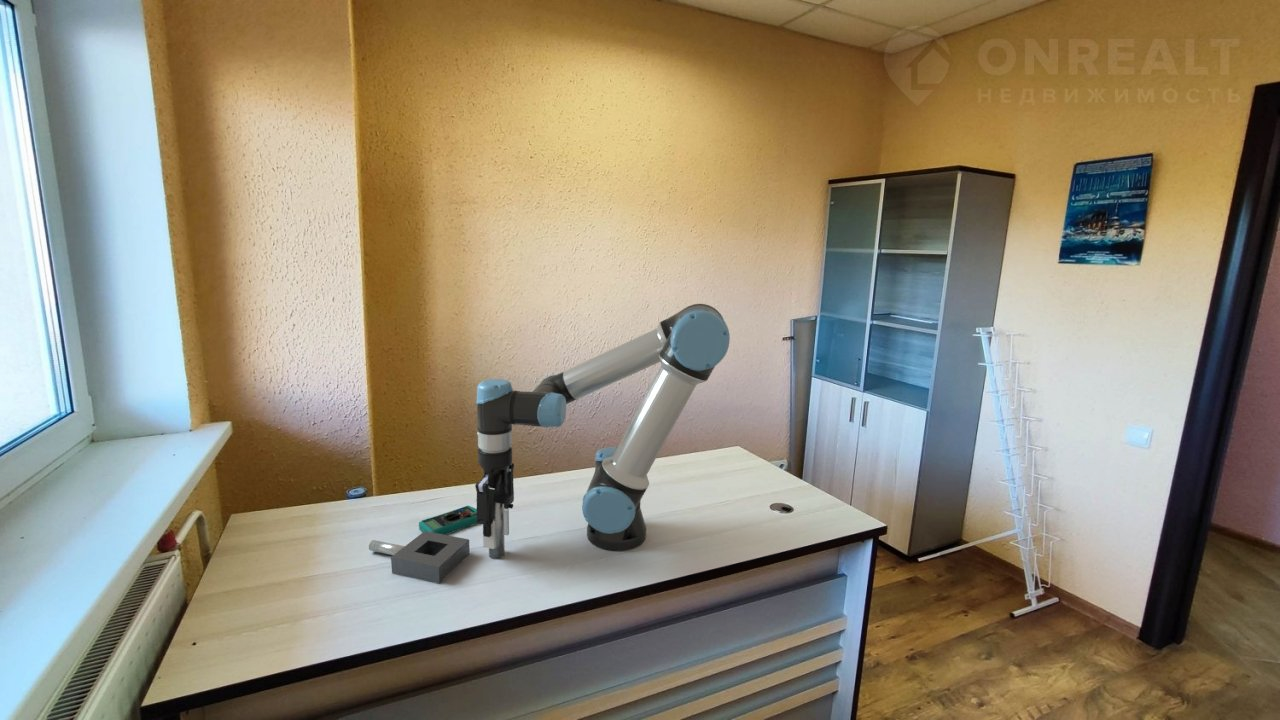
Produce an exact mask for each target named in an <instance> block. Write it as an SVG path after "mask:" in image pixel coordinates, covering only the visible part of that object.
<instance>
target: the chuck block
mask: <svg viewBox="0 0 1280 720" xmlns="http://www.w3.org/2000/svg"><path fill="white" fill-rule="evenodd" d="M368 550H369V551H372V552H376V553H379V554H385V555H390V561H391V564H390V565H391V574H393V575H398V576H403V577H408V578H411V579H416V580H420V581H425V582H430V583H435V584H441V583H442V582H443V581H444V580H445V579H446V578H447V577H448V576H449V575H451V573H452V572H453V571H455V569H457V568H458V567H459V565H461V564H462V563H463V562H464V561H465V560H466V559H467V558H468V557H469V556H470V554H471V552H470V539H468V538H464V537H458V536H453V535H449V534H446V535H443V534H438V533H433V532H428V531H424V532H423V533H422V532H421V533H420V534H419V535H418V536H416V537H415V538H413V540H411V541H410V542H409V543H407V544H406V545H399V544H395V543H392V542H391V543H390V542H385V541H381V540H375V539H372V540H371V541H370V542H369V545H368Z"/></svg>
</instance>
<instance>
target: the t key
mask: <svg viewBox="0 0 1280 720" xmlns="http://www.w3.org/2000/svg"><path fill="white" fill-rule="evenodd" d="M513 503H514V501H513V494H509V493H503V492H498V493H497V494H496V502H495V510H494V518H493V521H495V532H496V548H495V549H491V548H488V557H489V558H490V559H491V560H499V559H503V558H504V557H505V556H506V554H505V553H506V551H505V548H506V547H505V535H504V504H508V505H510V504H513Z"/></svg>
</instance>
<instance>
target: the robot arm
mask: <svg viewBox="0 0 1280 720" xmlns="http://www.w3.org/2000/svg"><path fill="white" fill-rule="evenodd" d="M729 331H730V330H729V327H728V325H727V323H726V321H725V319H724V318H723V315H722V314H721V313H720V312H719V311H718V310H717V309H716V308H715V307H713V306H711V305H708V304H706V303H694V304H690V305H688V306H686V307H684V308H683V309H682V310H679V311H678V312H676V313H675V314H673V315H671V316H670V317H668V318H666V319H664V320H662V321H659V323H658V324H657V326H656V328H654V329H652V330H650V331H648V332H645V333H644V334H642V335H639V336H636V337H635V338H633V339H631V340H629V341H626V342H624V343H622V344H620V345H618V346H616V347H614V348H612V349H609V350H607V351H605V352H603V353H601V354H599V355H596V356H594V357H591V358H590V359H588V360H586V361H583V362H581V363H578V364H577V365H575V366H572V367H570V368H568V369H566V370H564V371H562V372H560V373H557V374H552V375H549V376H547V377H545V378H543V379H542V381H541V382H540V383H539V385H537V386H536V387H535V388H534V389H533V390H532V391H523V390H522V391H520V390H513V387H512V383H511V381H509V380H508V379H501V378H491V379H490V378H489V379H485V380H483V381H481V382H479V384H477V386H476V387H477V388H476V389H477V390H476V401H475V402H476V416H477V417H476V418H477V420H476V421H477V447H478V449H477V456H478V457H477V462H478V465H479V467H481V468H482V469H483V472H482V480H481V481H480V482H476V483H475V485H474V486H475V487H474V488H475V491H476V509H477V525H482V532H483V533H482V535H483V536H482V537H483V541H482V542H483V548H487V549H489V548H491V549H495V548H496V532H495V521H493V518H494V510H495V502H496V494H497V493H498V492H503V493H509V494H513V502H514V501H515V493H514V492H515V491H514V486H515V485H514V469H515V464H514V463H513V448H512V446H513V425H514V426H515V425H516V426H517V425H518V426H530V427H542V428H546V429H547V428H558V427H559V428H560V427H561V426H562V425H563V424H564V423H565V419H566V416H567V414H566V413H567V405H568V404H570V403H572V402H574V401H577V400H579V399H581V398H583V397H585V396H587V395H588V396H589V395H590V394H592V393H594V392H596V391H598V390H602V389H603V388H605V387H607V386H610V385H612V384H614V383H616V382H618V381H621V380H623V379H625V378H627V377H630V376H632V375H634V374H636V373H638V372H639V373H640V372H641V371H643V370H646V369H647V368H650V367H651V366H654V365H657V364H659V363H660V367H659V369H658V371H657V372H656V375H655V376H654V378H653V380H652V382H651V385H649V388H648V390H647V391H646V393H645V395H644V397H643V399H642V401H641V402H640V405H639V406H638V408H637V410H636V412H635V414H634V416H633V418H632V419H631V422H630V423H629V425H628V427H627V429H626V431H625V433H624V435H623V437H622V438H621V441H620V443H619V444H618V446H607V447H602V448H600V449H598V450H597V451H596V453H595V458H594V462H595V467H594V473H593V476H592V478H591V481H590V483H589V486H588V487H587V491H586V493H585V494H584V495H583V498H582V505H581V507H582V508H581V510H582V514H583V518H584V520H585V521H586V523H587V526H586V538H587V540H588V541H589V543H591V544H592V545H593V546H595V547H597V548H599V549H603V550H608V551H626V550H631V549H635V548H637V547H639V546H641V545H642V544H643V543H644V542H645V541H646V538H647V526H646V523H645V519H644V516H643V512H642V508H641V501H642V499H643V497H644V495H645V493H646V491H647V490H648V488H649V486H650V481H649V478H648V473H649V472H650V470H651V468H652V466H653V465H654V462H655V461H656V459H657V457H658V455H659V453H660V452H661V450H662V448H663V446H664V444H665V442H666V440H667V439H668V437H669V435H670V433H671V432H672V430H673V428H674V427H675V424H676V423H677V421H678V419H679V417H680V415H681V414H682V412H683V411H684V408H685V407H686V405H687V403H688V401H689V399H690V398H691V396H692V394H693V392H694V390H695V388H696V387H697V385H699V384H702V383H706V382H707V381H708V380H709V378H710V376H711V375H712V373H713V370H714V369H715V367H716V366H717V365H719V363H721V362H722V360H723V359H724V358H725V356H726V355H727V353H728V350H729V347H730V332H729ZM513 508H514V504H513V503H511V504H510V505H508V504H504V536H509V535H510V510H509V509H513Z"/></svg>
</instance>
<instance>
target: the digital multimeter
mask: <svg viewBox="0 0 1280 720" xmlns="http://www.w3.org/2000/svg"><path fill="white" fill-rule="evenodd" d="M474 525H478V523H477V508H474V507H473V506H472V505H471V506H470V505H464V506H463V507H460V508H457V509H453V510H451V511H448V512H445V513H441V514H438V515H436V516H431V517H428V518H426V519H422V520H420V521H419V522H418V528H419V529H418V530H419V531H420V532H421V534H422V533H423V532H424V531H428V532H433V533H438V534H443V535H449V534H451V533H454V532H456V531H459V530H462V529H465V528H468V527H470V526H474Z"/></svg>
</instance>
